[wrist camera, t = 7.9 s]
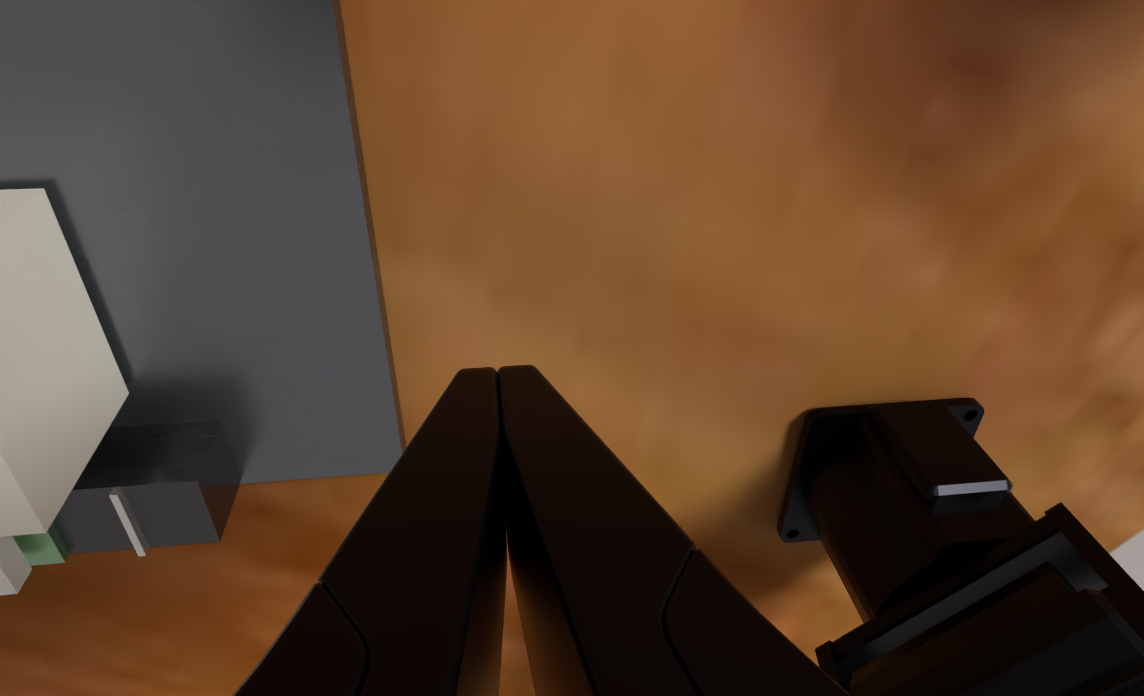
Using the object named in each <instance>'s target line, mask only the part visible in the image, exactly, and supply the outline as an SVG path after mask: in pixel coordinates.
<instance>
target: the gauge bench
mask: <svg viewBox="0 0 1144 696" xmlns="http://www.w3.org/2000/svg"><path fill="white" fill-rule="evenodd" d="M38 188H44V190H45V192H46V195H47V197H48V199H49V202H50V204H51V207H52V209H53V212H54V214H55V216H56V219H57V221H58V224H59V226H60V228H61V231H62V233H63V236H64V238H65V240H66V243H67V245H68V248H69V250H70V252H71V255H72V257H73V260H74V262H75V264H76V267H77V269H78V272H79V274H80V277H81V279H82V281H83V284H84V286H85V289H86V291H87V293H88V296H89V298H90V301H91V303H92V305H93V308H94V310H95V313H96V315H97V317H98V320H99V322H100V325H101V327H102V329H103V332H104V334H105V337H106V339H107V341H108V344H109V346H110V349H111V351H112V354H113V356H114V358H115V361H116V363H117V366H118V368H119V370H120V373H121V375H122V378H123V380H124V382H125V385H126V387H127V390H128V392H129V395H128V396H127V398H126V400H125V401H124V403H123V405H122V406H121V408H120V410H119V411H118V413H117V415H116V416H115V418H114V420H113V421H112V423H111V425H110V426H109V428H108V430H107V432H106V433H105V435H104V437H103V438H102V440H101V442H100V443H99V445H98V447H97V448H96V450H95V452H94V453H93V455H92V457H91V458H90V460H89V462H88V463H87V465H86V467H85V469H84V470H83V472H82V474H81V475H80V477H79V479H78V480H77V482H76V484H75V485H74V487H73V489H72V490H71V492H70V494H69V495H68V497H67V499H66V500H65V502H64V504H63V506H62V507H61V509H60V511H59V512H58V514H57V516H56V517H55V519H54V521H53V522H52V524H51V526H50V527H49V529H48V531H47V532H46V533H40V534H28V535H15V536H12V537H13V538H14V540H15V542H16V543H17V545H18V547H19V548H20V550H21V551H22V553H23V555H24V556H25V558H26V559H27V561H28V563H29V564H30V566H32V565H44V564H56V563H65V562H66V561H67V559H68V557H69V555H70V554H76V553H88V552H100V551H112V550H124V549H135V550H136V553H137V555H138V556H146V555H147V552H148V550H149V548H150V547H160V546H172V545H184V544H195V543H207V542H219V541H221V538H222V535H223V532H224V529H225V526H226V523H227V520H228V517H229V514H230V511H231V508H232V505H233V502H234V499H235V496H236V493H237V491H238V488H239V485H240V484H244V483H257V482H270V481H283V480H297V479H310V478H323V477H336V476H350V475H363V474H376V473H389V472H391V470H392V469H393V467H394V466H395V464H396V463H397V461H398V460H399V458H400V457H401V455H402V454H403V452H404V451H405V449H406V443H405V436H404V429H403V423H402V416H401V409H400V403H399V396H398V389H397V382H396V376H395V369H394V362H393V356H392V349H391V342H390V336H389V329H388V322H387V316H386V309H385V302H384V296H383V289H382V282H381V275H380V269H379V262H378V255H377V249H376V242H375V235H374V229H373V222H372V215H371V209H370V202H369V195H368V189H367V182H366V175H365V168H364V162H363V155H362V148H361V142H360V135H359V128H358V122H357V115H356V108H355V102H354V95H353V88H352V82H351V75H350V68H349V61H348V55H347V48H346V41H345V35H344V28H343V21H342V15H341V8H340V1H339V0H0V190H5V189H38Z"/></svg>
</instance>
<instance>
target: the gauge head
mask: <svg viewBox="0 0 1144 696" xmlns="http://www.w3.org/2000/svg"><path fill="white" fill-rule="evenodd" d="M128 395H129V392H128V390H127V387H126V385H125V382H124V380H123V378H122V375H121V373H120V370H119V368H118V366H117V363H116V361H115V358H114V356H113V354H112V351H111V349H110V346H109V344H108V341H107V339H106V337H105V334H104V332H103V329H102V327H101V325H100V322H99V320H98V317H97V315H96V313H95V310H94V308H93V305H92V303H91V301H90V298H89V296H88V293H87V291H86V289H85V286H84V284H83V281H82V279H81V277H80V274H79V272H78V269H77V267H76V264H75V262H74V260H73V257H72V255H71V252H70V250H69V248H68V245H67V243H66V240H65V238H64V236H63V233H62V231H61V228H60V226H59V224H58V221H57V219H56V216H55V214H54V212H53V209H52V207H51V204H50V202H49V199H48V197H47V195H46V192H45V190H44V188H38V189H5V190H0V595H11V594H18V593H19V591H20V589H21V587H22V586H23V584H24V582H25V581H26V579H27V577H28V576H29V574H30V572H31V570H32V568H31V566H30V564H29V563H28V561H27V559H26V558H25V556H24V555H23V553H22V551H21V550H20V548H19V547H18V545H17V543H16V542H15V540H14V538H13V537H12V536H15V535H28V534H40V533H46V532H47V531H48V529H49V527H50V526H51V524H52V522H53V521H54V519H55V517H56V516H57V514H58V512H59V511H60V509H61V507H62V506H63V504H64V502H65V500H66V499H67V497H68V495H69V494H70V492H71V490H72V489H73V487H74V485H75V484H76V482H77V480H78V479H79V477H80V475H81V474H82V472H83V470H84V469H85V467H86V465H87V463H88V462H89V460H90V458H91V457H92V455H93V453H94V452H95V450H96V448H97V447H98V445H99V443H100V442H101V440H102V438H103V437H104V435H105V433H106V432H107V430H108V428H109V426H110V425H111V423H112V421H113V420H114V418H115V416H116V415H117V413H118V411H119V410H120V408H121V406H122V405H123V403H124V401H125V400H126V398H127V396H128Z"/></svg>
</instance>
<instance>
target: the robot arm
mask: <svg viewBox="0 0 1144 696" xmlns="http://www.w3.org/2000/svg"><path fill="white" fill-rule="evenodd" d="M497 378H498V380H497ZM983 415H984V409H983V407H982V406H981V405H980V403H979V402H978V401H977V400H975V399H974V398H956V399H942V400H928V401H913V402H899V403H885V404H871V405H856V406H842V407H828V408H819V409H815V410H813V411H812V412H810V413H809V414H808V415H807V416H806V418H805V421H804V425H803V429H802V432H801V436H800V440H799V444H798V448H797V452H796V456H795V459H794V463H793V467H792V471H791V475H790V479H789V483H788V486H787V490H786V494H785V498H784V502H783V506H782V510H781V513H780V517H779V521H778V525H777V531H778V534H779V536H780V538H781V539H782V541H784V542H790V543H791V542H802V541H813V540H821V541H822V543H823V545H824V547H825V549H826V551H827V553H828V555H829V557H830V559H831V561H832V563H833V565H834V566H835V568H836V570H837V572H838V574H839V576H840V578H841V580H842V582H843V584H844V586H845V588H846V590H847V592H848V594H849V595H850V597H851V599H852V601H853V603H854V605H855V607H856V609H857V611H858V613H859V615H860V617H861V619H862V621H863V623H864V624H862V625H860V626H859V627H857V628H855V629H853V630H852V631H850V632H848V633H847V634H845V635H843V636H842V637H840V638H838V639H837V640H835V641H833V642H831V641H827V642H826V643H824V644H822V645H821V646H819V647H817V648H816V649H815V652H816V656H817V660H818V664H819V667H820V668H819V667H818V666H817V665H816V664H815V663H814V662H813V661H812V660H810V659H809V658H808V657H807V656H806V655H805V654H804V653H803V652H802V651H801V650H800V649H798V648H797V647H796V646H795V645H794V644H793V643H792V642H791V641H790V640H789V639H788V638H787V637H786V636H784V635H783V634H782V633H781V632H780V631H779V630H778V629H777V628H776V627H775V626H774V625H773V624H772V623H771V622H769V621H768V620H767V619H766V618H765V617H764V616H763V615H762V614H761V613H760V612H759V611H758V610H757V609H756V608H755V607H754V606H753V605H752V604H751V603H750V602H749V601H748V600H747V599H746V598H745V596H744V595H743V594H742V593H741V592H740V591H739V590H738V589H737V588H736V587H735V586H734V585H733V584H732V583H731V582H730V581H729V580H728V579H727V578H726V577H725V576H724V575H723V574H722V572H721V571H720V570H719V569H718V568H717V567H716V566H715V565H714V564H713V562H712V561H711V560H710V559H709V558H708V557H707V556H706V555H705V553H704V552H703V551H702V550H701V549H695V548H696V545H695V543H694V542H693V541H692V540H691V538H690V537H689V536H688V535H687V534H686V533H685V532H684V531H683V530H682V528H681V527H680V526H679V525H678V524H677V523H676V522H675V521H674V520H673V519H672V517H671V516H670V515H669V514H668V513H667V512H666V511H665V510H664V509H663V507H662V506H661V505H660V504H659V503H658V502H657V501H656V500H655V499H654V498H653V496H652V495H651V494H650V493H649V492H648V491H647V490H646V489H645V488H644V486H643V485H642V484H641V483H640V482H639V481H638V480H637V479H636V478H635V477H634V475H633V474H632V473H631V472H630V471H629V470H628V469H627V468H626V467H625V465H624V464H623V463H622V462H621V461H620V460H619V459H618V458H617V457H616V456H615V454H614V453H613V452H612V451H611V450H610V449H609V448H608V447H607V446H606V444H605V443H604V442H603V441H602V440H601V439H600V438H599V437H598V436H597V435H596V433H595V432H594V431H593V430H592V429H591V428H590V427H589V426H588V425H587V423H586V422H585V421H584V420H583V419H582V418H581V417H580V416H579V415H578V414H577V412H576V411H575V410H574V409H573V408H572V407H571V406H570V405H569V404H568V402H567V401H566V400H565V399H564V398H563V397H562V396H561V395H560V394H559V393H558V391H557V390H556V389H555V388H554V387H553V386H552V385H551V384H550V383H549V381H548V380H547V379H546V378H545V377H544V376H543V375H542V374H541V373H540V372H539V370H538V369H537V368H536V367H534V366H532V365H517V366H503V367H501V368H499V370H498V372H496V370H495V369H494V368H492V367H484V368H467V369H461V370H460V371H458V373H457V374H456V375H455V377H454V378H453V380H452V381H451V383H450V384H449V386H448V387H447V389H446V390H445V392H444V393H443V395H442V396H441V398H440V399H439V401H438V402H437V404H436V405H435V406H434V408H433V409H432V411H431V412H430V414H429V415H428V417H427V418H426V420H425V421H424V423H423V424H422V426H421V427H420V429H419V430H418V432H417V433H416V435H415V436H414V438H413V439H412V441H411V442H410V443H409V445H408V446H407V448H406V449H405V451H404V452H403V454H402V455H401V457H400V458H399V460H398V461H397V463H396V464H395V466H394V467H393V469H392V470H391V472H390V473H389V475H388V476H387V478H386V479H385V480H384V482H383V483H382V485H381V486H380V488H379V489H378V491H377V492H376V494H375V495H374V497H373V498H372V500H371V501H370V503H369V504H368V506H367V507H366V509H365V510H364V512H363V513H362V515H361V516H360V518H359V519H358V520H357V522H356V523H355V525H354V526H353V528H352V529H351V531H350V532H349V534H348V535H347V537H346V538H345V540H344V541H343V543H342V544H341V546H340V547H339V549H338V550H337V552H336V553H335V555H334V556H333V557H332V559H331V560H330V562H329V563H328V565H327V566H326V568H325V569H324V571H323V572H322V574H321V575H320V577H319V579H318V581H319V583H317V584H314V585H313V586H312V588H311V589H310V591H309V592H308V594H307V595H306V597H305V598H304V600H303V601H302V603H301V604H300V606H299V607H298V609H297V610H296V612H295V613H294V615H293V616H292V618H291V619H290V620H289V622H288V623H287V625H286V626H285V627H284V629H283V630H282V632H281V633H280V634H279V636H278V637H277V638H276V640H275V641H274V643H273V644H272V645H271V647H270V648H269V650H268V651H267V652H266V654H265V655H264V656H263V658H262V659H261V661H260V662H259V663H258V665H257V666H256V667H255V669H254V670H253V671H252V672H251V674H250V675H249V676H248V677H247V678H246V680H245V681H244V682H243V683H242V685H241V686H240V687H239V688H238V690H237V691H236V692H235V693H234V695H233V696H499V683H500V668H501V653H502V638H503V623H504V608H505V593H506V577H507V543H508V553H509V561H510V567H511V573H512V579H513V584H514V589H515V594H516V599H517V604H518V609H519V614H520V619H521V624H522V629H523V634H524V639H525V644H526V649H527V654H528V659H529V664H530V669H531V674H532V679H533V684H534V689H535V694H536V696H1144V591H1143V590H1142V589H1141V588H1140V587H1139V586H1138V585H1137V584H1136V582H1135V581H1134V580H1133V579H1132V578H1131V577H1130V576H1129V575H1128V574H1127V573H1126V572H1125V571H1124V570H1123V569H1122V567H1121V566H1120V565H1119V564H1118V563H1117V562H1116V561H1115V560H1114V559H1113V558H1112V557H1111V556H1110V554H1109V553H1108V552H1107V551H1106V550H1105V549H1104V548H1103V547H1102V546H1101V545H1100V544H1099V543H1098V542H1097V540H1096V539H1095V538H1094V537H1093V536H1092V535H1091V534H1090V533H1089V532H1088V531H1087V530H1086V529H1085V528H1084V526H1083V525H1082V524H1081V523H1080V522H1079V521H1078V520H1077V519H1076V518H1075V517H1074V516H1073V515H1072V514H1071V512H1070V511H1069V510H1068V509H1067V508H1066V507H1065V506H1064V505H1063V504H1062V503H1061V502H1060V503H1058V504H1057V505H1055V506H1053V507H1052V508H1050V509H1048V510H1047V511H1045V512H1044V513H1045V514H1046V515H1045V516H1043V517H1042V518H1040V519H1038V520H1037V521H1035V520H1034V519H1033V518H1032V517H1031V516H1030V514H1029V513H1028V512H1027V511H1026V510H1025V508H1024V507H1023V506H1022V505H1021V504H1020V503H1019V501H1018V500H1017V499H1016V498H1015V497H1014V495H1013V494H1012V493H1011V492H1010V490H1011V488H1012V486H1013V485H1012V483H1011V481H1010V480H1009V479H1008V478H1007V477H1006V476H1005V474H1004V473H1003V472H1002V471H1001V470H1000V469H999V467H998V466H997V465H996V464H995V463H994V462H993V460H992V459H991V458H990V457H989V456H988V455H987V453H986V452H985V451H984V450H983V449H982V448H981V447H980V445H979V444H978V443H977V442H976V441H975V440H974V438H973V437H974V435H975V433H976V431H977V428H978V426H979V424H980V421H981V419H982V417H983ZM822 421H823V422H822ZM820 422H822V423H821V424H818V423H820ZM505 515H506V516H505ZM506 530H507V537H506Z"/></svg>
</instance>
